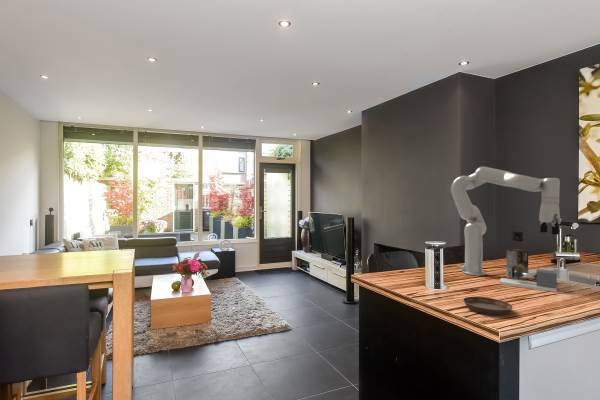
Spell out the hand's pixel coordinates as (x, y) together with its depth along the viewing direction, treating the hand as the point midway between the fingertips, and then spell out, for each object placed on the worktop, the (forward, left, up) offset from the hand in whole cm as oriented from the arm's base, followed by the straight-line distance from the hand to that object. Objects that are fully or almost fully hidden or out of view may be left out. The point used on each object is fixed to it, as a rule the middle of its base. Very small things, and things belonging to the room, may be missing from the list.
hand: (549, 233), depth 176 cm
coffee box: (-14, +8, -28) cm, 32 cm away
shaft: (-9, -11, -24) cm, 28 cm away
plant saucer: (-22, -65, -28) cm, 74 cm away
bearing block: (-1, -11, -26) cm, 28 cm away
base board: (-9, -11, -27) cm, 31 cm away
